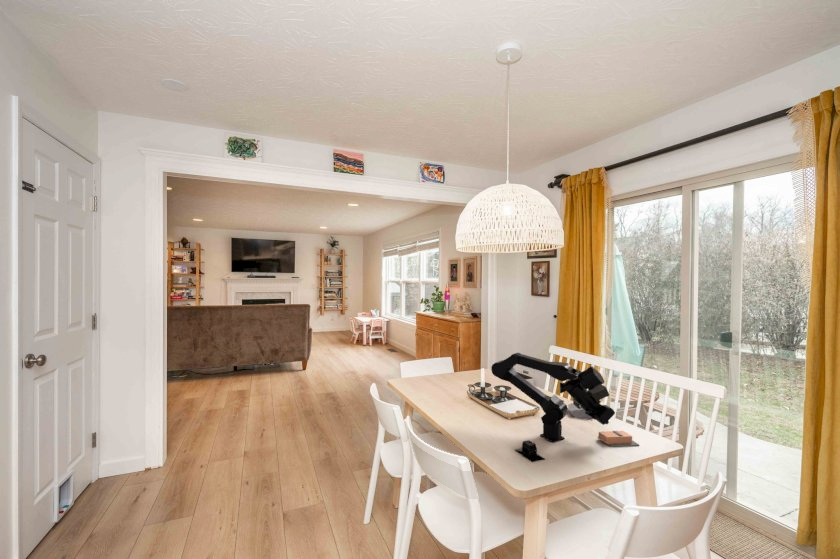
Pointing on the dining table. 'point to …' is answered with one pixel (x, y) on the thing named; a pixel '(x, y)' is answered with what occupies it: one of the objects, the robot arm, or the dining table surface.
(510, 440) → the dining table surface
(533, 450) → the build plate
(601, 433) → the terracotta block
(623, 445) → the charcoal mat
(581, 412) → the stone block
